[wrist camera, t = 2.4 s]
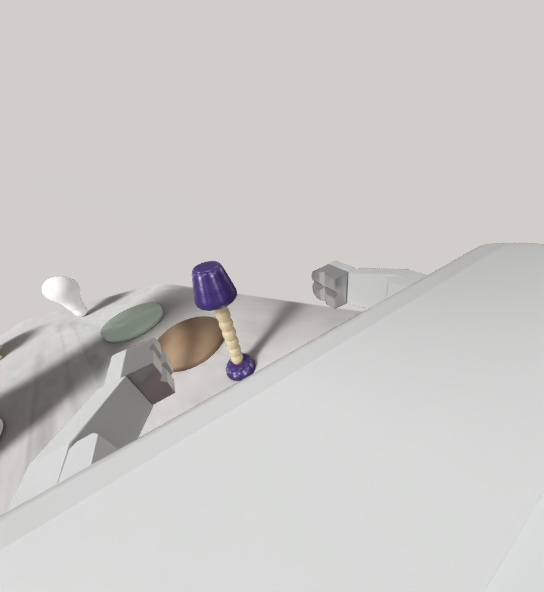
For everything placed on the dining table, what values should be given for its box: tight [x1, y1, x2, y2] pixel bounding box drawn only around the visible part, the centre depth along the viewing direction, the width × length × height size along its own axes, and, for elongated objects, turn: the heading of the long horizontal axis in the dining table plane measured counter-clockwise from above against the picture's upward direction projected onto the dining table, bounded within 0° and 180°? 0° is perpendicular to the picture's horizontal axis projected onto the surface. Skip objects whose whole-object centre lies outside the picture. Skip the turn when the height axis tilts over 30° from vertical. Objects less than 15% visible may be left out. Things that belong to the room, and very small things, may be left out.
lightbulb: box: [42, 276, 88, 316], centre depth 48 cm, size 6×6×11 cm
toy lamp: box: [192, 261, 255, 381], centre depth 24 cm, size 5×5×17 cm
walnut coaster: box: [157, 317, 223, 372], centre depth 35 cm, size 12×12×1 cm
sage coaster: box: [101, 303, 164, 343], centre depth 44 cm, size 12×12×1 cm
